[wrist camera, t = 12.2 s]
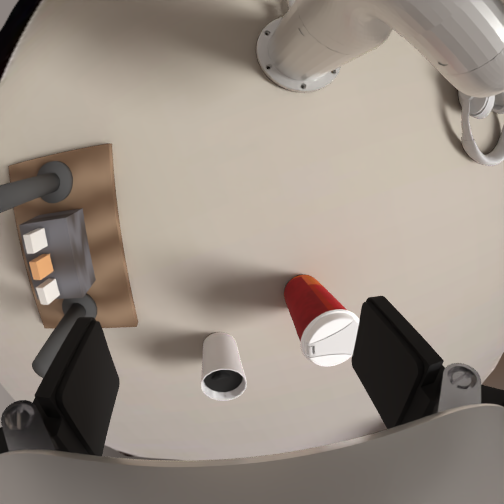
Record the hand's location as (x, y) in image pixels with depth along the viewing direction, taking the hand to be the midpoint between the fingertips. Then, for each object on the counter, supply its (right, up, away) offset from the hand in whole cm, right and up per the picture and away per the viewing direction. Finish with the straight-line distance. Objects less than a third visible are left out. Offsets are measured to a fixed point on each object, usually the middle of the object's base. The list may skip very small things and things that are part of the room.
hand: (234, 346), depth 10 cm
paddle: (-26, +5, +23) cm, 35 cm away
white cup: (-5, -13, +41) cm, 43 cm away
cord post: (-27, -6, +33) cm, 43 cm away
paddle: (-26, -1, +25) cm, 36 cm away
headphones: (+46, +30, +34) cm, 64 cm away
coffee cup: (+9, -3, +40) cm, 41 cm away
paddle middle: (-26, +2, +24) cm, 36 cm away
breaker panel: (-27, +4, +31) cm, 42 cm away
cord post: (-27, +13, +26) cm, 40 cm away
